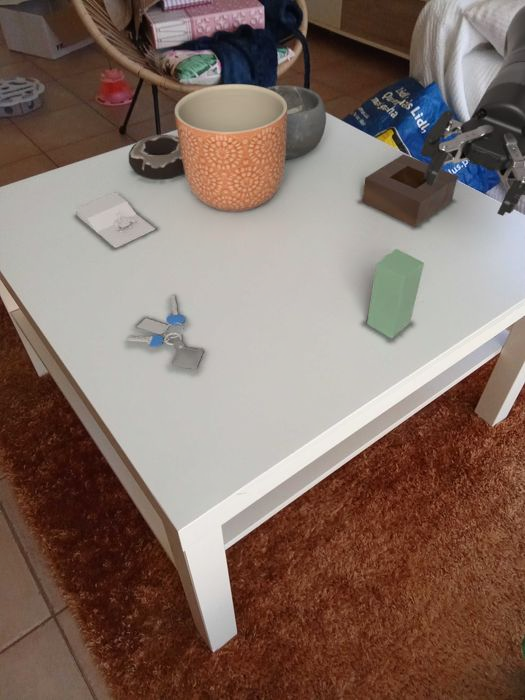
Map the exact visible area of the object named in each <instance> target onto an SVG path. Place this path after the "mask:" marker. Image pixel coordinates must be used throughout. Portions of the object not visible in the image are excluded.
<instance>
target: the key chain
mask: <svg viewBox="0 0 525 700" xmlns="http://www.w3.org/2000/svg"><path fill="white" fill-rule="evenodd" d="M170 296H171V301H170V303H171V310H172V314H170V315H167V317H166V319H165V320H166V323H168V324H166V323H163V322H159V321H157V320H153V319H150V318H147V317H145V319H143V320H142V321H141V322H140V323H139V324H138V325H136V328H138V329H142V330H144V331H146V332H151V333H154V334H152V335H151V336H142V335H139V336H138V335H136V336H133V335H130V336H127V338H126V340H127V342H137V343H146V344H148V346H150V347H159V346H161V345H162V344H163V343H165V344H166V345H168V346H171V347H172V346H173V347H174V348H175V350H176V352H175V355H174V357H173V359H172V361H171V366H173V367H180V368H186V369H190V370H196V369H197V368H198V366H199V363H200V361H201V359H202V357H203V354H204V350H203V349H201V348H194V347H188V346H186V345H185V344H184V342H183V341H182V340H183V336H182V333H183V332H184V325H183V324H184V322H185V320H186V318H185V316H184V315H182V314H178V309H177V307H178V306H177V302H176V297H175V295H174V294H173V295H172V294H171V295H170ZM171 325H173V326H174V325H175V326H177V325H178V326H179V325H180V326H181V328H182V329H181V332H180V333H178V332H174V331H173V332H169V333H167V334H166V331H167V330H168V329H169V327H170V326H171ZM162 334H163V335H164V338H163V336H161V335H162ZM171 336H172V337H171ZM177 337H178V339H176V340H174V341H171V342H169V341H170V339H175V338H177Z"/></svg>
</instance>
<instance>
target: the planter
mask: <svg viewBox="0 0 525 700" xmlns="http://www.w3.org/2000/svg"><path fill="white" fill-rule="evenodd" d="M266 88H267V87H262V86H259V85H253V84H245V83H244V84H243V83H228V84H227V83H226V84H218V85H211V86H207V87H202V88H200V89H197V90H194V91H191V92H190V93H188V94H186V95H185V96H183V97H182V98H181V99H180V100H179V101H178V102H177V103H176V105H175V107H174V118H175V119H174V120H175V126H176V132H177V137H178V138H179V144H180V151H181V157H182V162H183V167H184V175H185V178H186V179H185V180H186V182H187V184H188V187H189V189H190V191H191V192H192V193H193V195H194V196H195V197H196V198H197V199H198V200H200V202H202V203H203V204H205V205H207V206H209V207H211V208H213V209H215V210H218V211H223V212H236V213H237V212H245V211H251V210H253V209H256V208H257V207H260V206H262V205H263V204H265V203H266V202H268V201H269V200H270V199H272V197H273V196H274V195H275V194H276V193H277V192H278V190H279V188H280V186H281V184H282V182H283V178H284V172H285V167H286V159H285V157H286V136H287V103H286V101H285V100H284V98H283V97H282V96H280V95H279V94H278V93H276V92H274V91H272V90H269V89H266Z"/></svg>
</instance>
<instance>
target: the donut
mask: <svg viewBox="0 0 525 700" xmlns="http://www.w3.org/2000/svg"><path fill="white" fill-rule="evenodd" d="M128 163H129V166H130V167H131V169H132V170H133V171H134V173H136V174H137V175H139V176H140V177H143V178H147V179H152V180H165V179H166V180H167V179H172V178H175V177H177V176H180V175H182V174H185V172H184V167H183V162H182V157H181V151H180V144H179V138H178V135H177V136H176V135H173V134H156V135H151V136H147V137H144V138H143V139H140V140H138V141H137V142H136V143H134V144H133V145H132V147H131V149H130V150H129V152H128Z"/></svg>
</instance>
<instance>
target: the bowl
mask: <svg viewBox="0 0 525 700" xmlns="http://www.w3.org/2000/svg"><path fill="white" fill-rule="evenodd" d="M265 88H266V89H269V90H272V91H274V92H276V93H278V94H279V95H280V96H282V97H283V98H284V100H285V101H286V103H287V136H286V157H285V160H287V159H288V160H289V159H295V158H298V157H301V156H303V155H306V154H308V153H310V152H311V151H313V150H314V149H316V148H317V146H318V145H319V144H320V143H321V140H322V138H323V135H324V133H325V129H326V123H327V116H326V115H327V113H326V112H327V111H326V107H325V103H324V102H323V99H322V98H321V96H320V94H319V93H316V91H314V90H312V89H309V88H306V87H301V86H299V85H289V84H288V85H287V84H286V85H285V84H284V85H283V84H280V85H271V86H268V87H265Z"/></svg>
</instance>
